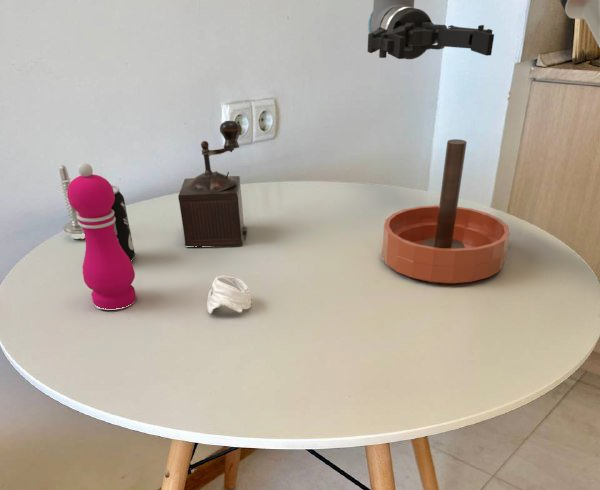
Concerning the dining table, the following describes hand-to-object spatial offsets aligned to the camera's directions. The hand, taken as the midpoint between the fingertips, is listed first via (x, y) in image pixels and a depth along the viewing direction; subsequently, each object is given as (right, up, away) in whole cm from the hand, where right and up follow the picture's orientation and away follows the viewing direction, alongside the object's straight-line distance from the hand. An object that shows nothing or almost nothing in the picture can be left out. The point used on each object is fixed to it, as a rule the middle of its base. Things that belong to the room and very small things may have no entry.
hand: (446, 46), depth 88 cm
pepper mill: (-50, -38, +1) cm, 62 cm away
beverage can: (-53, -29, +13) cm, 62 cm away
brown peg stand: (+2, -29, +10) cm, 31 cm away
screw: (-63, -23, +22) cm, 70 cm away
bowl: (+2, -29, +11) cm, 31 cm away
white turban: (-32, -39, 0) cm, 50 cm away
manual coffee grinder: (-37, -21, +23) cm, 49 cm away
